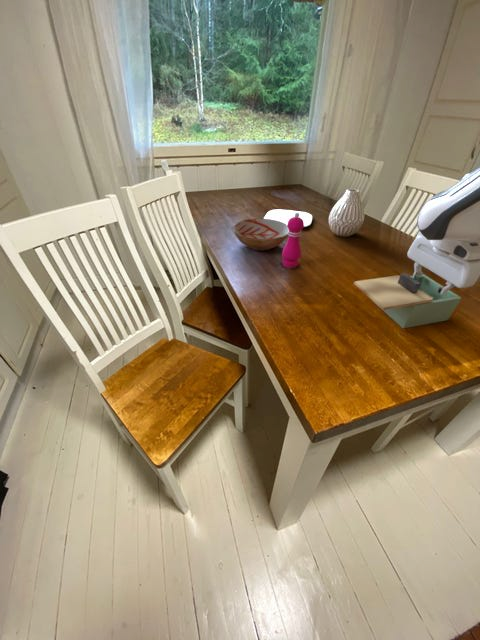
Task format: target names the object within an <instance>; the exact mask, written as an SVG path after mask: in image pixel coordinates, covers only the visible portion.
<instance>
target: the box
mask: <svg viewBox="0 0 480 640" xmlns="http://www.w3.org/2000/svg"><path fill="white" fill-rule="evenodd" d="M409 276H410V277H412V278H413V279H415V280H416V281H418V282H419V283H421V285H420V287H419V290H420V291H422V290H423V291H425V292H426V293H428V294H429V295H431V296H432V297H433V298H434V299H433V301H432V302H427V303H421V304H415V305H409V306H403V307H398V308H392V309H386V310H383V309H382V308H380V307H379V306H378V305H377V304H376V303H375V302H374V301H373V300H372V302H373V303H374V305H376V306H377V307H378V308H380V310H381V311H383V312H384V313H385V314H386V315H387V316H388V317H389V318H390V319H392V320H393V321H394V322H395V323H396V324H397V325H398V326H400V328H402V329H407V328H413V327H419V326H424V325H428V324H429V325H430V324H434V323H439V322H445V321H448V320H449V319H450V317H451V316H452V314H453V312H454V311H455V309H456V308H457V306H458V305H459V303H460V301H461V300H462V296H459V295H458V294H456V293H455V292H453V291H451V289H449V290H448V292H447V294H445V295H441V294H440V293H438V290H439V288H440V287H444V286H443V285H442V284H441V283H439V282H437V281H436V280H434V279H432V278H431V277H429V276H427V275H426V274H425V273H423V274H422V276H421V278H415V277H414V276H413V275H409Z"/></svg>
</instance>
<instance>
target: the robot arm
mask: <svg viewBox="0 0 480 640" xmlns="http://www.w3.org/2000/svg"><path fill="white" fill-rule="evenodd" d="M416 227H417V229H418V233H417V234H416V237H415V239H414V240H413V241H412V243H411V245H410V247H409V249H408V251H407V258H408V259H410V260H412V261H413V262H414V263H413V269H414V270H413V271H414V272H413V274H412V276H414V277H415V278H421V276H422V274H424V272H423V271H422V267H423V268H425V269H427V270H428V271H430V272H432V273H433V274H435V275H436V276H438V277H440V278H442V279H443V280H444V281H446V282H445V285H446V286H443V287H440V288H439V290H438V293H440V294H441V295H445V294H447V292H448V290H451V289H453V288H455V287H456V288H458V289H466V288H471V287H473V286H475V284H476V283H477V281H478V279H479V278H480V166H479V167H477V168H476V169H474V170H473V171H470V172H467V173H466V174H465V175H464V176H463V177H462V178H461V179H460V180H459V181H458V182H456V183H455V184H454V185H453V186H451V187H449V188H448V189H446V190H442V191H439V192H437V193H436V194H435V195H433V196H432V197H430V198H429V199H428V200H427V201H426V202H425V203H424V204H423V205H422V207H421V209H420V211H419V213H418V215H417V221H416Z"/></svg>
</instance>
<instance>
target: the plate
mask: <svg viewBox="0 0 480 640" xmlns="http://www.w3.org/2000/svg"><path fill="white" fill-rule="evenodd" d="M295 213H299V217H300V218H302V219H303V221H304V227H303V228H307V227H309V226H310V225H311V224H312V221H313V215H312V214H310V213H309V212H306V211H298V210H291V209H272V210H269V211H268V212H267V213H266V214H265V216H264V217H263V218H264V219H272V220H277V221H280V222H283V223H285V224H287V223H288V220H289V219H290V218H292V217H294V214H295Z"/></svg>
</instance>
